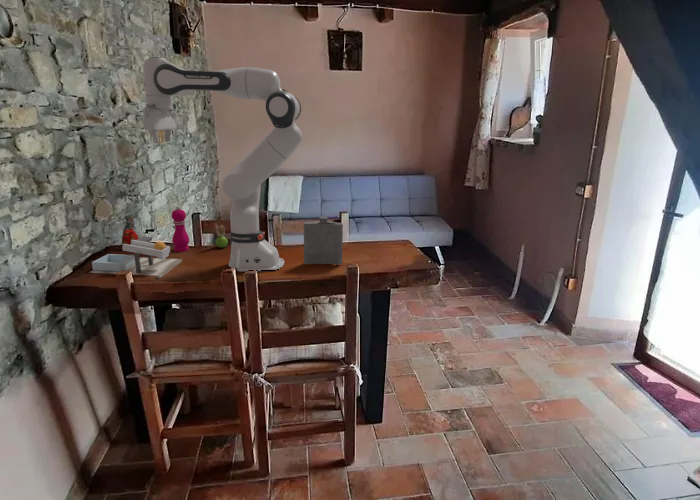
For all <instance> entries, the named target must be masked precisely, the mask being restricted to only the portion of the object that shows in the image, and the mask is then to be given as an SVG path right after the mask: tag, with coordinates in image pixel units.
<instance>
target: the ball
mask: <svg viewBox="0 0 700 500" xmlns="http://www.w3.org/2000/svg"><path fill="white" fill-rule="evenodd" d="M165 245H166V243H165V242H164V241H155V243H154V249H156V250H163V249H165Z"/></svg>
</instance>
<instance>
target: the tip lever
mask: <svg viewBox="0 0 700 500" xmlns="http://www.w3.org/2000/svg"><path fill="white" fill-rule="evenodd" d="M138 238H139V239H137V240H131V244H130V245H128V244H123V247H122V251H125V252H130V253H134V254H135V253H139V256H140V255H147V256H148V255H151V256H153V257H156V258H158V259H162V260H163V259H167V257H169V256H170V253H171V246H170V245H166V244H165V249H163V250H156V249H154V244H155V243H154V242H151V241H153V237H151V236H145V235H144V236H142V237H138Z"/></svg>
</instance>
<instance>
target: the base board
mask: <svg viewBox="0 0 700 500" xmlns="http://www.w3.org/2000/svg"><path fill="white" fill-rule="evenodd" d="M133 255H134V259H135V264H133V265H132V266H130V267H128V268H127V269H125V270H123V271H132V274H133V275H136V276H152V277H153V276H155V277H154V278H155V279H161V278H163V276H164V275H166V274H167V273H169V272H170V271H171V270H173V269H174V268H175V267H177V266H178V265H179V264H181V263H182V262H183V258H165V259H163V260H162V259H158V257H154V256H151V255H147V257H140V255H139V253H134V254H133ZM88 273H89V274H108V275H110V274H112V275H113V274H115V275H117V274H116V273H117V272H102V271H93V269H92V270H91V271H89V272H88Z"/></svg>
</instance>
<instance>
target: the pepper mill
mask: <svg viewBox="0 0 700 500" xmlns="http://www.w3.org/2000/svg"><path fill="white" fill-rule="evenodd" d="M186 217H187V213H186V211H185V210H183V209H181V206H180V205H177V206H176V207H175V209H174V210H173V211H172V212H171V219H172V220H173V225H174V232H173V235H172V244H173V245H174V246H173V248H174V249H173V250H174V252H177V253H183V252H188V251H189V250H190V245H188V244H189V243H190V237H189V234H188V233H187V231H186V227H185V224H186Z"/></svg>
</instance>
